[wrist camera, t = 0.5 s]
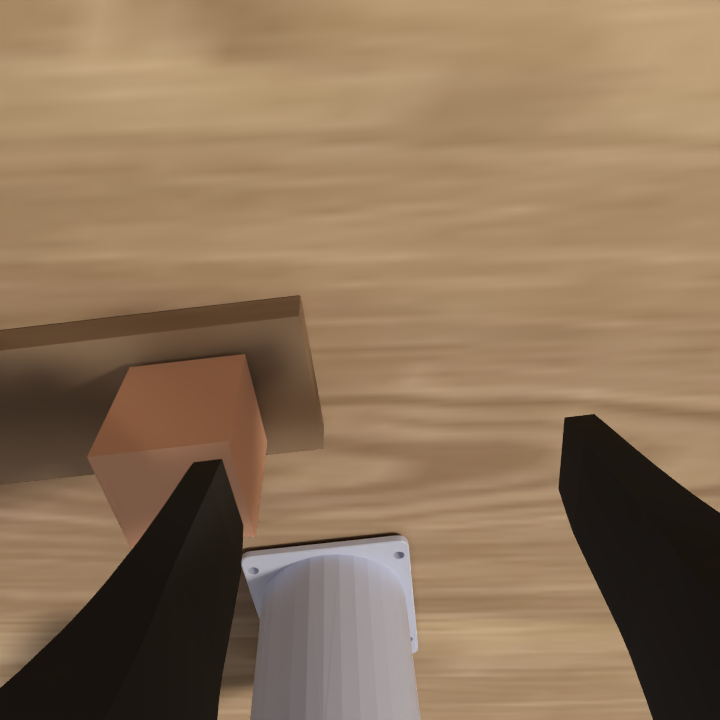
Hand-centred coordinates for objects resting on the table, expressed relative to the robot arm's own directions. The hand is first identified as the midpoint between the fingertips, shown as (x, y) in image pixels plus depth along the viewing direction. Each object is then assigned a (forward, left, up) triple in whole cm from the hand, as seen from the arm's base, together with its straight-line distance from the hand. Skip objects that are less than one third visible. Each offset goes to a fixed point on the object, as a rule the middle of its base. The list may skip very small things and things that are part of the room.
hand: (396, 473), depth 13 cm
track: (-4, +13, -10) cm, 17 cm away
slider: (-4, +6, -8) cm, 11 cm away
